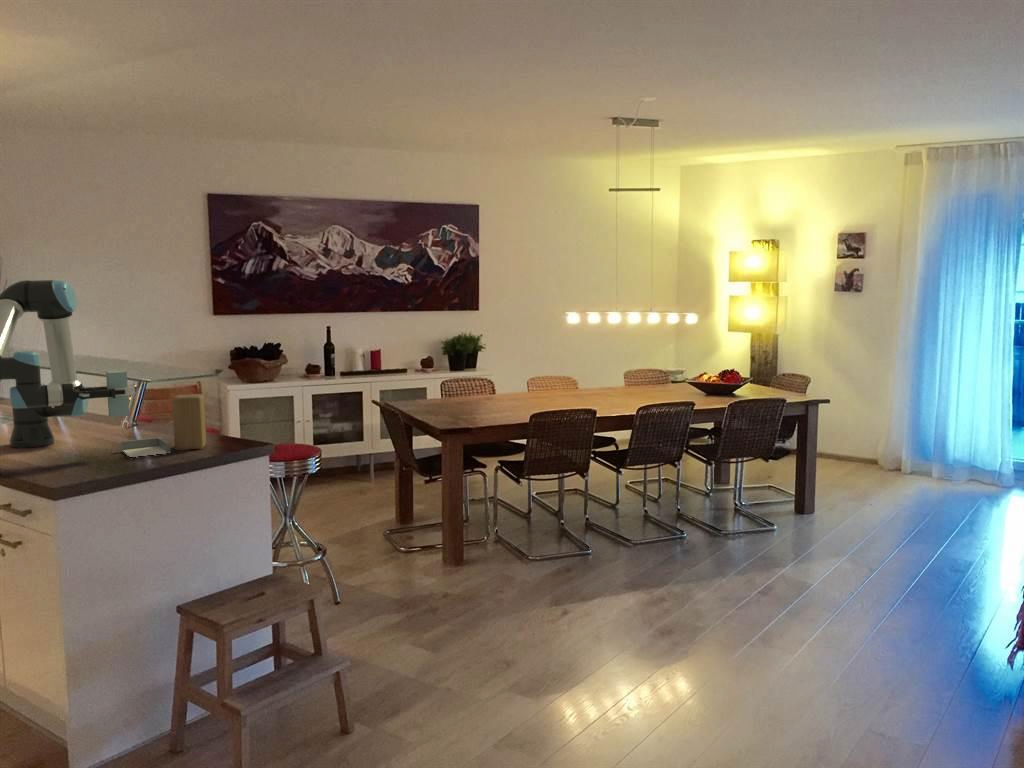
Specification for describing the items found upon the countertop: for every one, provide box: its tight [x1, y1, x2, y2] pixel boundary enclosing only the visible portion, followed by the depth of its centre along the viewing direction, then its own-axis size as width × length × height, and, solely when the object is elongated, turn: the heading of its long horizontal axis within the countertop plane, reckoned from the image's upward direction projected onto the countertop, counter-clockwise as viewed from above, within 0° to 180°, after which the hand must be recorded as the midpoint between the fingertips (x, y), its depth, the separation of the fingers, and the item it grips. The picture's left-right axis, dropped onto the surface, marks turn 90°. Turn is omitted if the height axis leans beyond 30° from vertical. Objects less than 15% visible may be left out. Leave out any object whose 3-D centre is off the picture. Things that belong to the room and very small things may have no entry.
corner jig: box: [121, 436, 171, 458], centre depth 316 cm, size 14×14×4 cm
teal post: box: [105, 369, 130, 419], centre depth 307 cm, size 6×6×16 cm
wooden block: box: [171, 393, 207, 451], centre depth 324 cm, size 10×10×20 cm
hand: (132, 389), depth 310 cm, fingers closed on teal post, 6 cm apart
